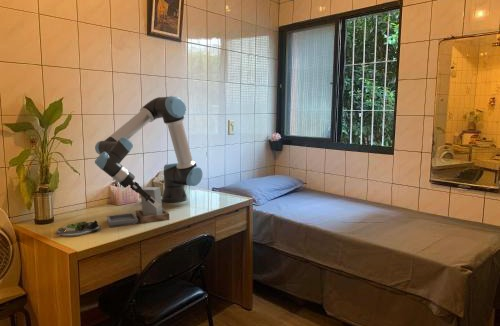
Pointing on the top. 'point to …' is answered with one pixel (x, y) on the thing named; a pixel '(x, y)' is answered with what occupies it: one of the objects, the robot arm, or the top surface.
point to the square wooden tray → (152, 216)
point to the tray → (122, 220)
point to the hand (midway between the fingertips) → (155, 203)
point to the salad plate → (79, 229)
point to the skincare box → (147, 206)
